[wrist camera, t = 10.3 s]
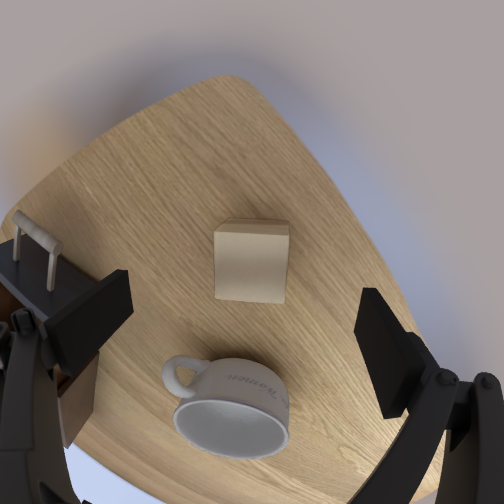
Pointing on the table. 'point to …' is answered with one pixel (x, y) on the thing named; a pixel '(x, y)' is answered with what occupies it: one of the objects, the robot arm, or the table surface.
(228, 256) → the block
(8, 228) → the table surface
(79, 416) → the cabinet
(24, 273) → the drawer
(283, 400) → the teacup
